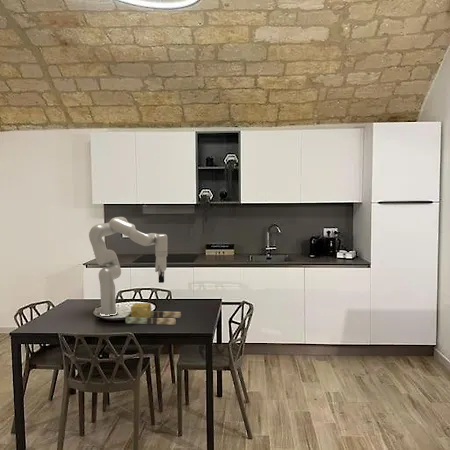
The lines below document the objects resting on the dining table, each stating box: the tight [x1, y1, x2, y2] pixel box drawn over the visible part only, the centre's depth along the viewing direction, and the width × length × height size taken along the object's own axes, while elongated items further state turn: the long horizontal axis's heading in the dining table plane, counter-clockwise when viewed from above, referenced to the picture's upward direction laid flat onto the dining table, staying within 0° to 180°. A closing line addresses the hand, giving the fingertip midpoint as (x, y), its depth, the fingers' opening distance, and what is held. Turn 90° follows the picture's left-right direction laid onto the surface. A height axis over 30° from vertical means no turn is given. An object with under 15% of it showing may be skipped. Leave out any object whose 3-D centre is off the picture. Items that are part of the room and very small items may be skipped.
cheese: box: [130, 302, 152, 318], centre depth 302 cm, size 10×11×10 cm
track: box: [125, 310, 182, 326], centre depth 302 cm, size 31×16×4 cm, turn 83°
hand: (161, 282), depth 303 cm, fingers closed
